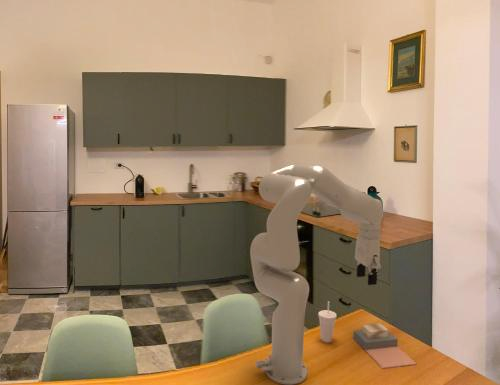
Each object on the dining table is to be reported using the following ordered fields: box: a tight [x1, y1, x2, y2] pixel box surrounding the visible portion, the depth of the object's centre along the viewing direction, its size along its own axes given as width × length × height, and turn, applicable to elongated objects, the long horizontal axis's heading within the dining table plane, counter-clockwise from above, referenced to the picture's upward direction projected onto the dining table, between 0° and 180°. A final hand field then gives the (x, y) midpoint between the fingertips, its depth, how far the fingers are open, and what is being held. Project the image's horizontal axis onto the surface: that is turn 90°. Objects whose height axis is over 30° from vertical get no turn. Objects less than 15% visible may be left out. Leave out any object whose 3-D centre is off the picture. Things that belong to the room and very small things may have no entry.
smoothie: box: [317, 301, 338, 343], centre depth 138 cm, size 6×6×14 cm
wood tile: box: [361, 323, 389, 339], centre depth 137 cm, size 7×5×2 cm
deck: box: [352, 329, 399, 351], centre depth 137 cm, size 12×8×3 cm
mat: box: [364, 345, 417, 370], centre depth 128 cm, size 12×10×1 cm
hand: (366, 280), depth 142 cm, fingers open, 7 cm apart
